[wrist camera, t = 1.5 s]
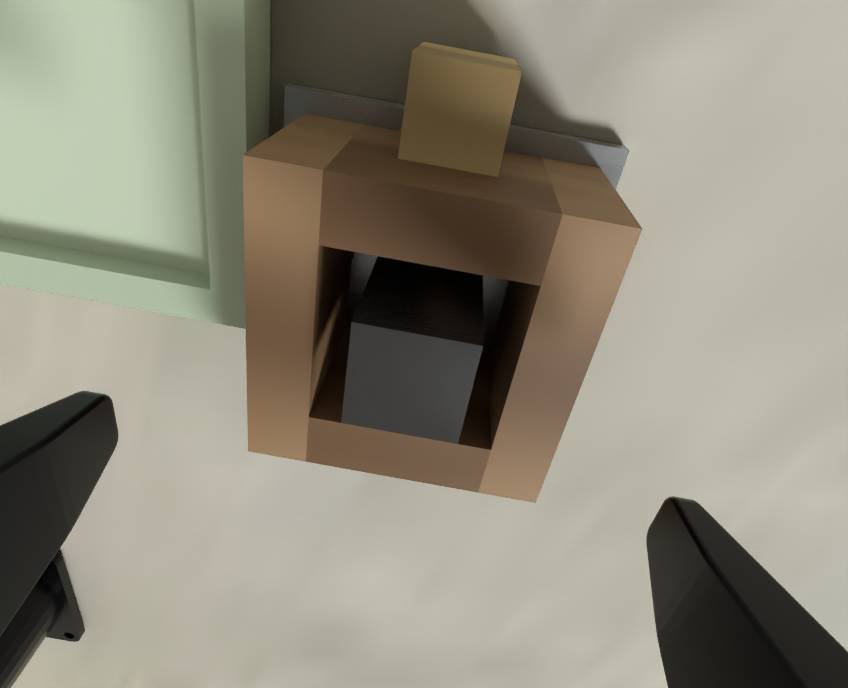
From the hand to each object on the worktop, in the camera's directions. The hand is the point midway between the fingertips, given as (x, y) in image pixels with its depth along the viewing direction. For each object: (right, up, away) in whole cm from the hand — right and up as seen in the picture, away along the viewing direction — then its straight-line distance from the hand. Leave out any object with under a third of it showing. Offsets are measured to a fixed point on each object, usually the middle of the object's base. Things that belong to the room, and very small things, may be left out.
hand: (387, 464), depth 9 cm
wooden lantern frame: (+1, +4, +6) cm, 7 cm away
